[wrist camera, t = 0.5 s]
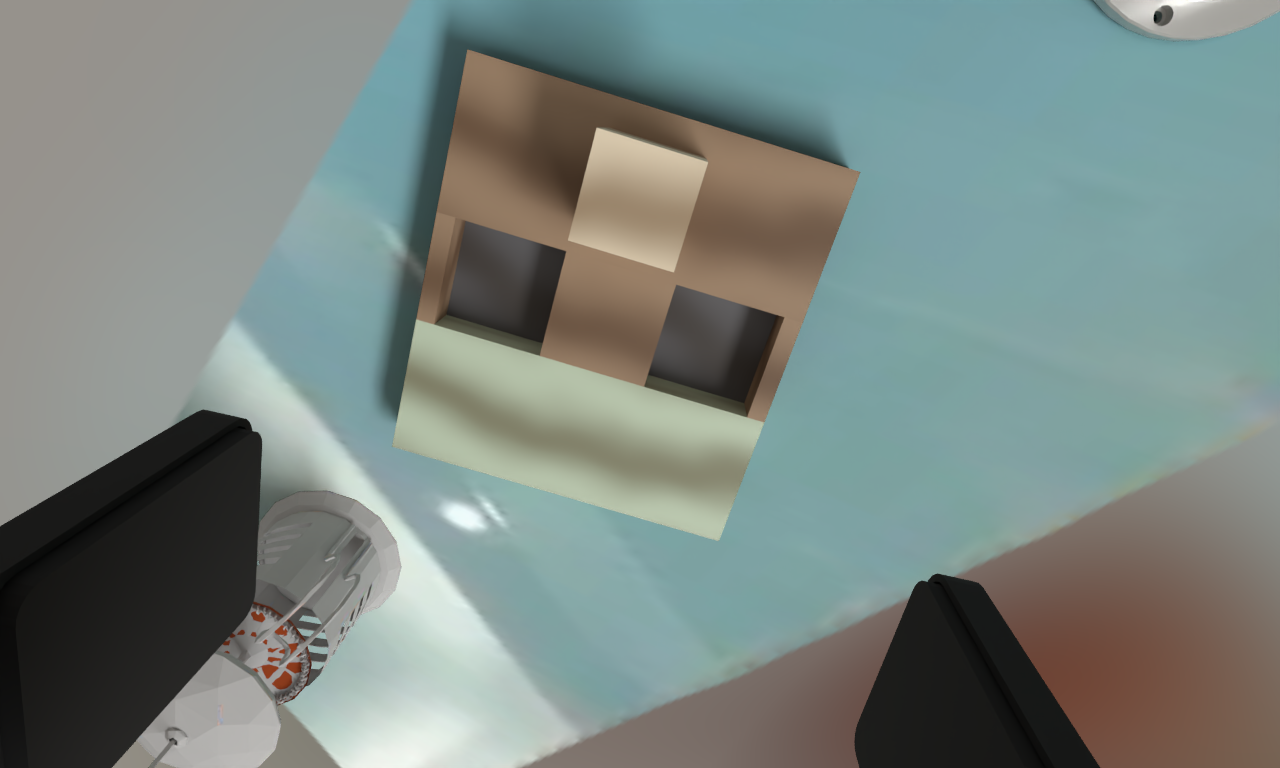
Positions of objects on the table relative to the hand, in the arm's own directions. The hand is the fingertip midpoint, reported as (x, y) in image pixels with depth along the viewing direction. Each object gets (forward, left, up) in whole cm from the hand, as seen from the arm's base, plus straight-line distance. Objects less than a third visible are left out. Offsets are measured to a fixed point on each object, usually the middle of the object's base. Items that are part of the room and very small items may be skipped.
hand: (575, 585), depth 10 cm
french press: (+25, -14, -32) cm, 43 cm away
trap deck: (+4, -1, -32) cm, 32 cm away
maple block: (-3, -1, -29) cm, 29 cm away
